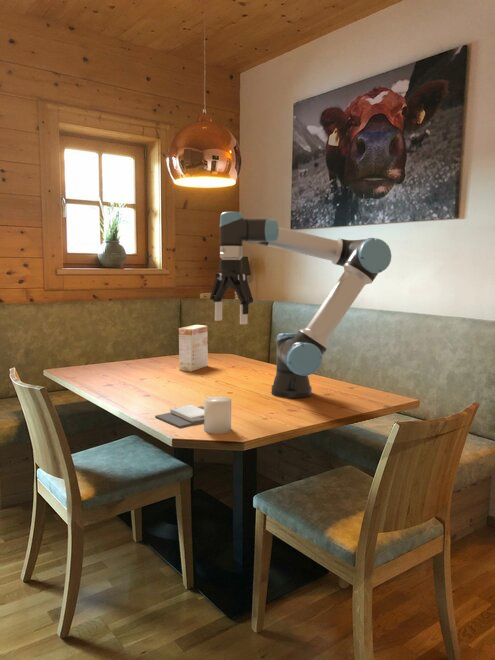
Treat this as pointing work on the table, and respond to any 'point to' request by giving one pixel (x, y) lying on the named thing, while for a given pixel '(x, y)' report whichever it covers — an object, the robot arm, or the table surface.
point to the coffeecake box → (193, 347)
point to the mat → (177, 419)
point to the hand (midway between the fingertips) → (230, 322)
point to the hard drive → (189, 413)
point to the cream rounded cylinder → (217, 414)
